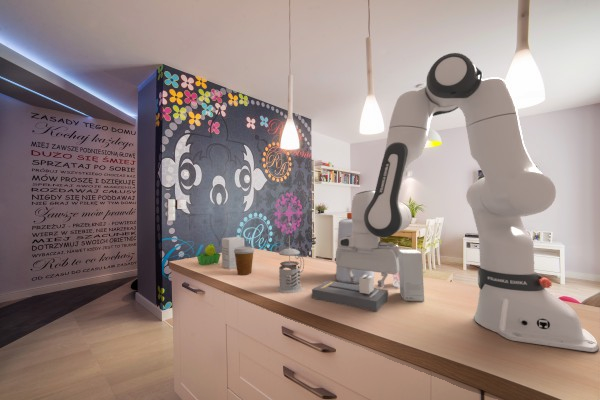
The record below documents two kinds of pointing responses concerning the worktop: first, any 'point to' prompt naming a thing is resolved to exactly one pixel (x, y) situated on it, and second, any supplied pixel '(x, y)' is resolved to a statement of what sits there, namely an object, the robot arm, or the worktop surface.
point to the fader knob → (366, 284)
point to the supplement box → (230, 251)
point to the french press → (289, 272)
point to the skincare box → (411, 275)
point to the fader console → (350, 295)
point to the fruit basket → (208, 256)
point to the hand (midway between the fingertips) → (366, 284)
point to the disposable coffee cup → (244, 259)
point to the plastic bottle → (343, 232)
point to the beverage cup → (396, 279)
